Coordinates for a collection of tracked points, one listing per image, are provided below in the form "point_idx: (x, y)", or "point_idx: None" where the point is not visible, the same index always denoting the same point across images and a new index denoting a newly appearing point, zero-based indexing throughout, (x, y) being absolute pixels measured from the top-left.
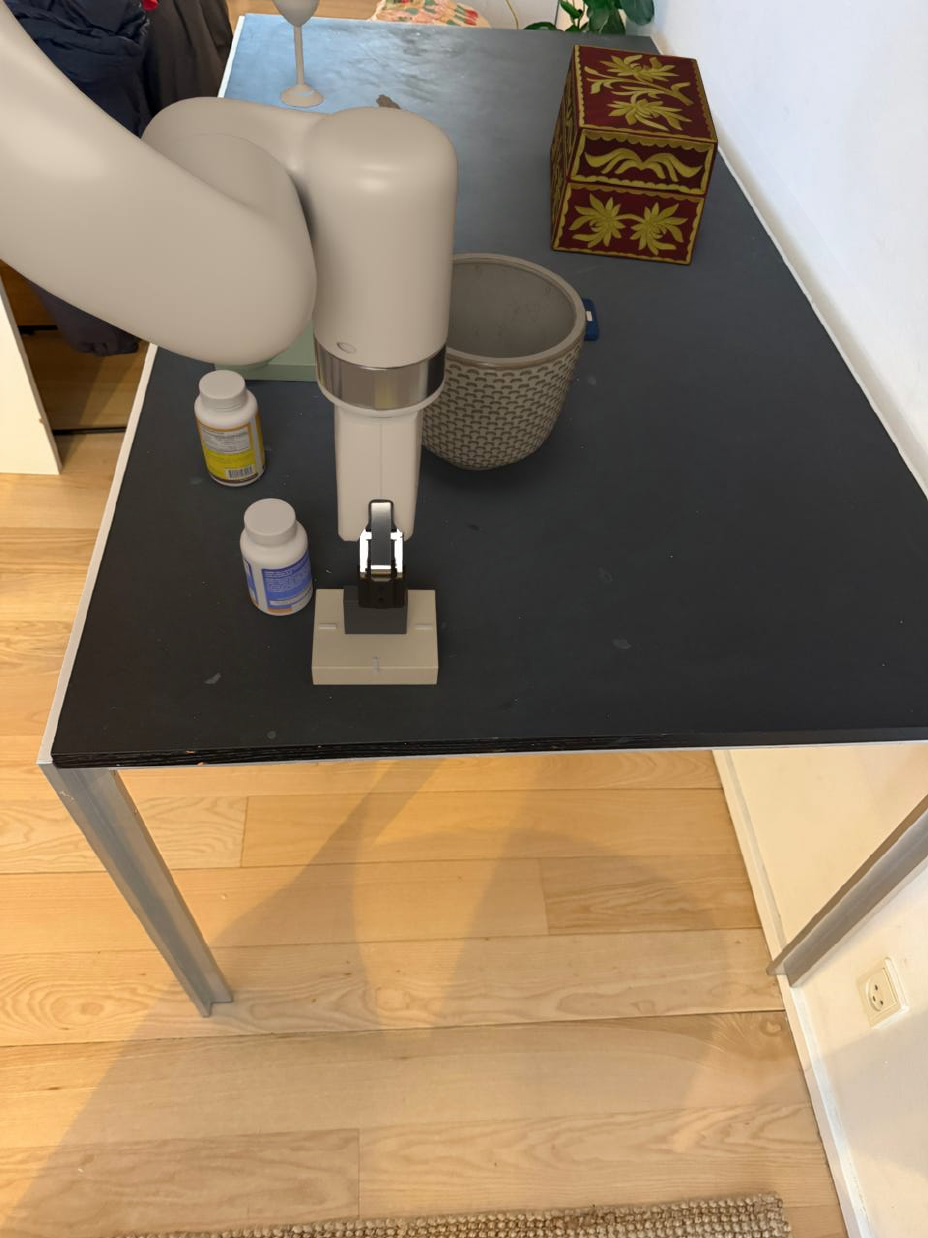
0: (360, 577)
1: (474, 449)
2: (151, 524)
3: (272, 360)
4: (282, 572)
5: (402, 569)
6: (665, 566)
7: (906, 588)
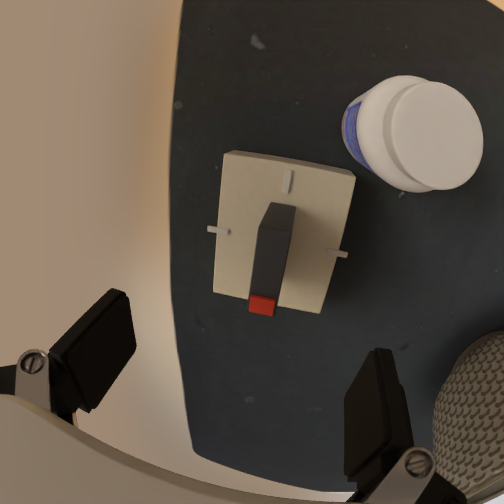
0: (23, 353)
1: (454, 394)
2: (482, 24)
3: None
4: (354, 134)
5: (79, 406)
6: (310, 432)
7: (265, 477)
